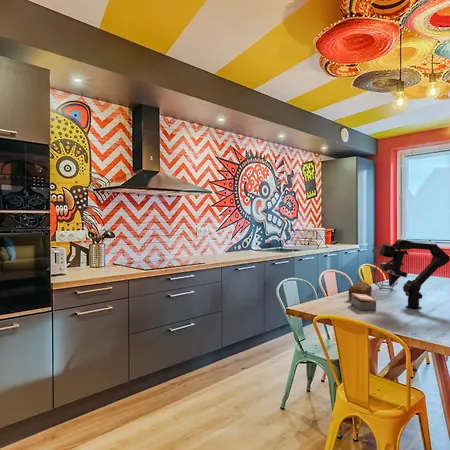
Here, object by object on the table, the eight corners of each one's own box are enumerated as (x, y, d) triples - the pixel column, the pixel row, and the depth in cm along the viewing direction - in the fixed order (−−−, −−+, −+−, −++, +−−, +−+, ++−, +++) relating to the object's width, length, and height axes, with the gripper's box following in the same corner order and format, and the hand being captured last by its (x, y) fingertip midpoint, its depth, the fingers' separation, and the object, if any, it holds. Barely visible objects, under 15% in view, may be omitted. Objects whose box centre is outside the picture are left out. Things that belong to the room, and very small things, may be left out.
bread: (356, 295, 239) (356, 280, 239) (372, 297, 233) (372, 282, 233) (347, 300, 224) (347, 284, 224) (364, 302, 218) (364, 286, 218)
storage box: (365, 304, 212) (365, 296, 212) (376, 310, 198) (376, 302, 198) (351, 304, 212) (351, 296, 212) (360, 310, 198) (360, 302, 198)
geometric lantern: (394, 293, 245) (393, 243, 244) (371, 290, 255) (370, 243, 254) (400, 289, 257) (399, 242, 256) (378, 287, 267) (377, 241, 266)
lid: (365, 296, 212) (366, 294, 212) (376, 302, 198) (376, 300, 198) (351, 294, 212) (351, 293, 212) (360, 300, 198) (360, 298, 198)
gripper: (377, 254, 214) (370, 279, 214) (392, 258, 195) (384, 285, 196) (394, 259, 214) (387, 283, 215) (410, 263, 196) (403, 290, 196)
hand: (390, 285), depth 205 cm, fingers closed
